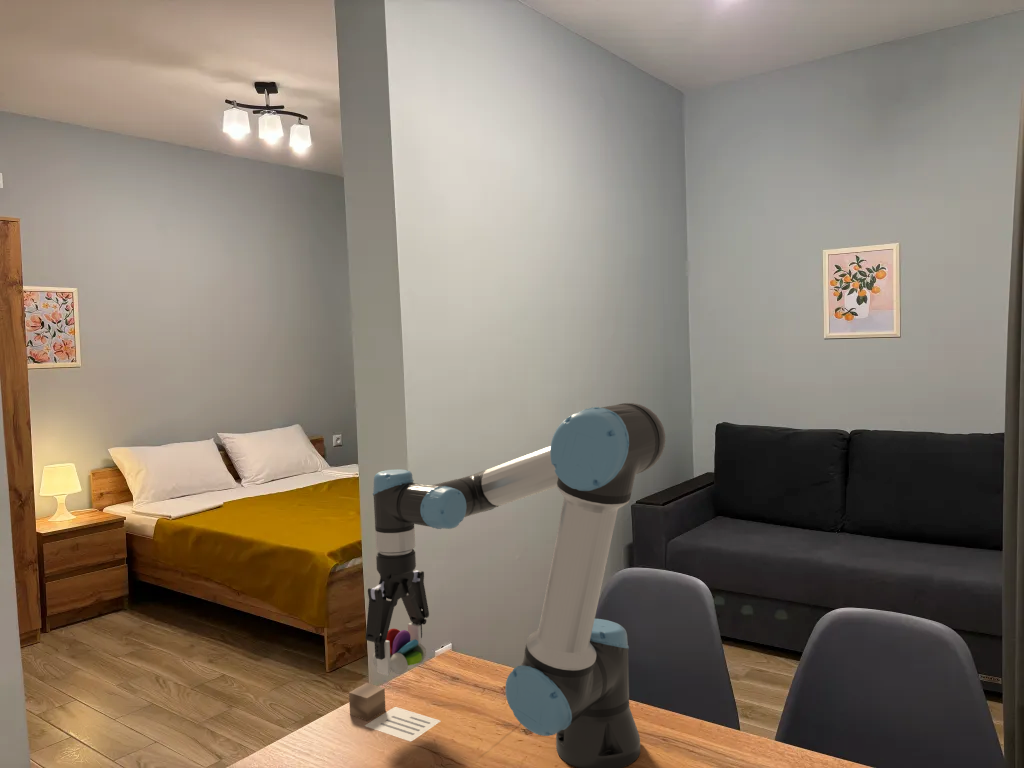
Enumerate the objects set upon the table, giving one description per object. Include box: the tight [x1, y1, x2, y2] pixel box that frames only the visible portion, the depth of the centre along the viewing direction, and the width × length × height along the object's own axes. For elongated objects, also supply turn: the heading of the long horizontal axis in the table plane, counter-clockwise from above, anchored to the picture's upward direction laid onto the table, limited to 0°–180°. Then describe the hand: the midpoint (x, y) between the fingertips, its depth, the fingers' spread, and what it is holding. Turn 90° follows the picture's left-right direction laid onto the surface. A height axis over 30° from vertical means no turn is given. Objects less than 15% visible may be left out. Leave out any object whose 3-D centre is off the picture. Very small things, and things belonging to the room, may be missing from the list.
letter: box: [364, 706, 441, 742], centre depth 148 cm, size 12×9×1 cm
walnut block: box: [348, 682, 386, 722], centre depth 152 cm, size 5×5×5 cm
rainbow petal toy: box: [372, 628, 427, 675], centre depth 147 cm, size 8×10×7 cm
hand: (400, 664), depth 147 cm, fingers closed on rainbow petal toy, 8 cm apart
